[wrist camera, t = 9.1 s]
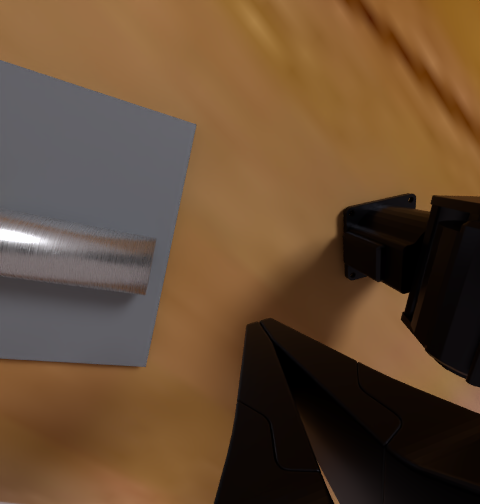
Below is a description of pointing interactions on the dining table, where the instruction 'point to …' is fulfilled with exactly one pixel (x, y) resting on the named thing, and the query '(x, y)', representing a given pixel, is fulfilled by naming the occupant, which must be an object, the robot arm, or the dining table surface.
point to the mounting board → (86, 211)
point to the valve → (73, 253)
